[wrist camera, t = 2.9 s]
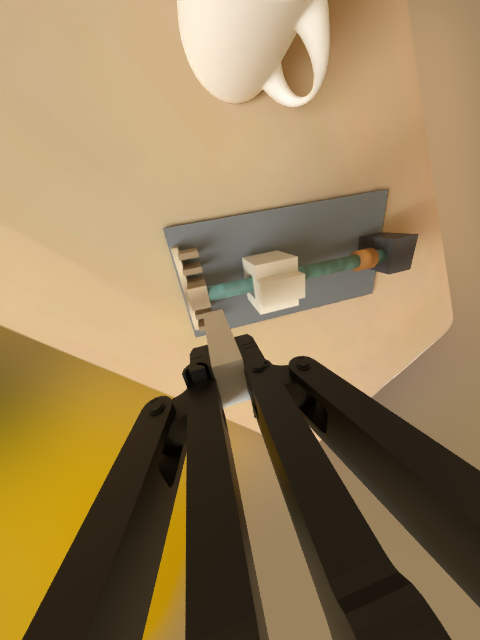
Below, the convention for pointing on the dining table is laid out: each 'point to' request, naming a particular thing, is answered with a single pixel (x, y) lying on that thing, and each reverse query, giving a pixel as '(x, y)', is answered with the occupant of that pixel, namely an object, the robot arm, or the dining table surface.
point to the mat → (284, 249)
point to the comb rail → (372, 254)
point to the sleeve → (274, 281)
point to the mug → (253, 45)
